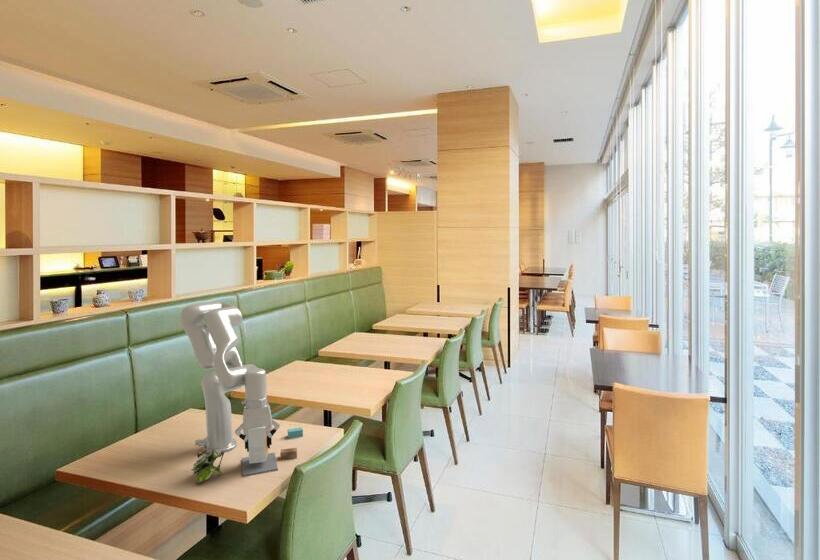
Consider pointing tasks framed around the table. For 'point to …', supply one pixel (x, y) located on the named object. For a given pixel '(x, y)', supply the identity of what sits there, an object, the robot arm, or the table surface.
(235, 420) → the table surface
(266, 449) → the small box
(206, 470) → the passion flower
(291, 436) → the teal block
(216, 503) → the table surface
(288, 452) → the walnut block
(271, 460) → the charcoal mat
